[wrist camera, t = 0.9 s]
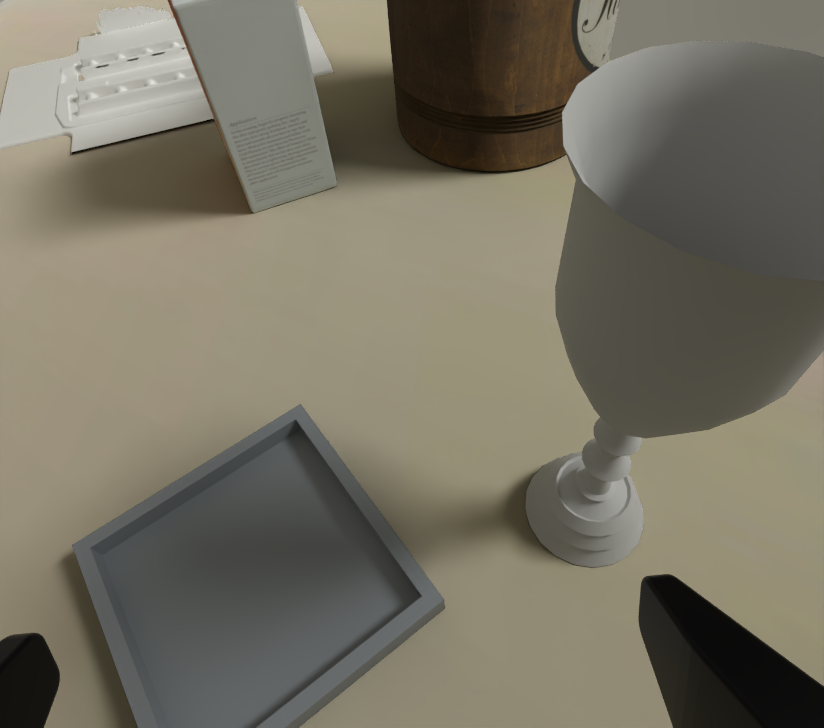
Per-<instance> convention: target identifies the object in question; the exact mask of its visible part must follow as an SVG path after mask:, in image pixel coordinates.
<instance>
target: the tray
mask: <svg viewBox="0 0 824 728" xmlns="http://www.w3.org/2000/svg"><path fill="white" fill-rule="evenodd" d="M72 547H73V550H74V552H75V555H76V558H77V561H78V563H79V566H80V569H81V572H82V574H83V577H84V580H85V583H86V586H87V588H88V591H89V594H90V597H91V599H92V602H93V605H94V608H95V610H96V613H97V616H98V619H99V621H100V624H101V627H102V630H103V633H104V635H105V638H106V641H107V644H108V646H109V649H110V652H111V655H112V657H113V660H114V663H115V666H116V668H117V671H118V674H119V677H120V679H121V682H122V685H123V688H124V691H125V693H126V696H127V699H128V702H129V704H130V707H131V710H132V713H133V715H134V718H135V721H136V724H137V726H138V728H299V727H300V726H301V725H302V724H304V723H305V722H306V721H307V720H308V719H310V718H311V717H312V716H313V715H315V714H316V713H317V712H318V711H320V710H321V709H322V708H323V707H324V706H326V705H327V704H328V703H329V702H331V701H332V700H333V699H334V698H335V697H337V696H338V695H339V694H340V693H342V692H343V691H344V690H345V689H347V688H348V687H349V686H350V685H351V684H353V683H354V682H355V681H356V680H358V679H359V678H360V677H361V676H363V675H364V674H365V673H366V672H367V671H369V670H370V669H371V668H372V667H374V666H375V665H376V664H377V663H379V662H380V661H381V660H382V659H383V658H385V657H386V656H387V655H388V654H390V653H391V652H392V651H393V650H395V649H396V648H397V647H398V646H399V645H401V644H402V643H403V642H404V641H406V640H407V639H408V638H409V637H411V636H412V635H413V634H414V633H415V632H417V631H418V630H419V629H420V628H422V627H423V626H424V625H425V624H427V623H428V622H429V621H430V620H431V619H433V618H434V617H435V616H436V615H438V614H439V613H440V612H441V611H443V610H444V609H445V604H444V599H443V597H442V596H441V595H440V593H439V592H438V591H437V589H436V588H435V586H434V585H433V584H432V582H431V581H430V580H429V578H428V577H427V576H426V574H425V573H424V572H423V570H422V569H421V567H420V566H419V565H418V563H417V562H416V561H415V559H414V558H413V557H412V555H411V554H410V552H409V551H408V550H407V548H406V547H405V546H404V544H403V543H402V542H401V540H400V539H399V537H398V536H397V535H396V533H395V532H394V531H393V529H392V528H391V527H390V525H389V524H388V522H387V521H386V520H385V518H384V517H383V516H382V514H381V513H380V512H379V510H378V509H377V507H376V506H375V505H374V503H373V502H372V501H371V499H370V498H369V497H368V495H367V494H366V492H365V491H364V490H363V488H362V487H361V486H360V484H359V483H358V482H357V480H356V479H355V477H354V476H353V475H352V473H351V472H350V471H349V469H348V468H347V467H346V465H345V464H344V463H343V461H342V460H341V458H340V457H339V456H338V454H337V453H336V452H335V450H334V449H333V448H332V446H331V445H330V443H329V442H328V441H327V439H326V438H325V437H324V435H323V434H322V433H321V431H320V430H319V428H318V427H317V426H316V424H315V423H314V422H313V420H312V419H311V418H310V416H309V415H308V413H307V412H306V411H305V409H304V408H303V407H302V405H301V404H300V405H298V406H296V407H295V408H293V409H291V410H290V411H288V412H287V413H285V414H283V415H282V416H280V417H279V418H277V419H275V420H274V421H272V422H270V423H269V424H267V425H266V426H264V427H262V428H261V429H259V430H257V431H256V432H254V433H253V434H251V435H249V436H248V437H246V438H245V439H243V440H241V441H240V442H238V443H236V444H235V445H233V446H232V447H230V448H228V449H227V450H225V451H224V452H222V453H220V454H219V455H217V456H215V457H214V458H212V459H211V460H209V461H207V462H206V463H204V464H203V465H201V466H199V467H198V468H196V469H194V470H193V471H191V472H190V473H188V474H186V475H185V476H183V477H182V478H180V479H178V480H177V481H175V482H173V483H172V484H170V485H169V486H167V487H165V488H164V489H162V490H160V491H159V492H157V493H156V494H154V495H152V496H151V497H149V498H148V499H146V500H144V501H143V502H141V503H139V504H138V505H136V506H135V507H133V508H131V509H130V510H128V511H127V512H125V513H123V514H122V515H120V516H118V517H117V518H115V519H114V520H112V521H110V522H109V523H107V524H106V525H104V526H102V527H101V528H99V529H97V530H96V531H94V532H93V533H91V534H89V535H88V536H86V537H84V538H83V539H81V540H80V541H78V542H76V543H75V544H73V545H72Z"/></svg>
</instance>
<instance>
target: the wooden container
mask: <svg viewBox="0 0 824 728" xmlns="http://www.w3.org/2000/svg"><path fill="white" fill-rule="evenodd" d="M619 3H620V0H387V7H388V19H389V32H390V43H391V54H392V63H393V73H394V83H395V95H396V106H397V116H398V122H399V126H400V130H401V132H402V134H403V136H404V137H405V139H406V140H407V141H408V142H409V143H410V144H411V145H412V146H413V147H414V148H415V149H417V150H418V151H419V152H421V153H422V154H424V155H425V156H427V157H429V158H431V159H433V160H435V161H438V162H440V163H443V164H446V165H449V166H453V167H457V168H462V169H468V170H476V171H508V170H518V169H524V168H529V167H534V166H537V165H541V164H544V163H547V162H550V161H552V160H554V159H557V158H559V157H561V156H563V155H565V154H566V152H565V149H564V146H563V123H562V112H563V110H564V108H565V106H566V104H567V103H568V101H569V99H570V97H571V95H572V93H573V92H574V90H575V88H576V86H577V84H578V83H580V82H581V81H582V80H584V79H585V78H586V77H588V76H589V75H590V74H592V73H593V72H594V71H596V70H597V69H599V68H600V67H601V66H603V65H604V64H605V63H607V62H608V57H609V52H610V48H611V43H612V39H613V34H614V29H615V24H616V19H617V14H618V8H619Z"/></svg>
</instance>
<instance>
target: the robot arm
mask: <svg viewBox="0 0 824 728" xmlns="http://www.w3.org/2000/svg"><path fill="white" fill-rule="evenodd" d="M639 627H640V631H641V635H642V638H643V641H644V644H645V647H646V650H647V652H648V655H649V658H650V661H651V664H652V667H653V670H654V673H655V676H656V679H657V682H658V684H659V687H660V690H661V693H662V696H663V699H664V702H665V705H666V708H667V711H668V714H669V717H670V719H671V722H672V725H673V728H824V686H823V685H821V684H820V683H818V682H817V681H816V680H814V679H813V678H812V677H810V676H809V675H808V674H806V673H805V672H804V671H802V670H801V669H800V668H798V667H797V666H795V665H794V664H793V663H791V662H790V661H789V660H787V659H786V658H785V657H783V656H782V655H781V654H779V653H778V652H777V651H775V650H774V649H772V648H771V647H770V646H768V645H767V644H766V643H764V642H763V641H762V640H760V639H759V638H758V637H756V636H755V635H754V634H752V633H751V632H750V631H748V630H747V629H745V628H744V627H743V626H741V625H740V624H739V623H737V622H736V621H735V620H733V619H732V618H731V617H729V616H728V615H727V614H725V613H724V612H722V611H721V610H720V609H718V608H717V607H716V606H714V605H713V604H712V603H710V602H709V601H708V600H706V599H705V598H704V597H702V596H701V595H699V594H698V593H697V592H695V591H694V590H693V589H691V588H690V587H689V586H687V585H686V584H685V583H683V582H682V581H681V580H679V579H678V578H676V577H675V576H673V575H670V574H664V575H653V576H646V577H644V578H643V580H642V582H641V591H640V604H639ZM59 681H60V673H59V669H58V666H57V664H56V662H55V660H54V658H53V656H52V654H51V652H50V650H49V647H48V645H47V643H46V641H45V639H44V638H43V636H41V635H40V634H38V633H26V634H16V635H11V636H8V637H6V638H5V639H3V640H2V641H0V728H44V725H45V723H46V720H47V717H48V715H49V712H50V709H51V706H52V704H53V701H54V698H55V695H56V693H57V690H58V686H59Z"/></svg>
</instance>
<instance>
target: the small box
mask: <svg viewBox="0 0 824 728" xmlns="http://www.w3.org/2000/svg"><path fill="white" fill-rule="evenodd" d="M168 2H169V5H170V7H171V10H172V12H173V15H174V18H175V20H176V23H177V25H178V28H179V30H180V33H181V35H182V38H183V40H184V43H185V45H186V48H187V51H188V53H189V56H190V58H191V61H192V63H193V66H194V69H195V71H196V74H197V76H198V79H199V81H200V84H201V87H202V89H203V92H204V94H205V97H206V99H207V102H208V104H209V107H210V110H211V112H212V115H213V117H214V120H215V123H216V125H217V128H218V131H219V133H220V136H221V138H222V141H223V143H224V146H225V148H226V151H227V153H228V155H229V157H230V159H231V162H232V164H233V167H234V169H235V172H236V174H237V177H238V179H239V182H240V184H241V187H242V189H243V192H244V194H245V197H246V199H247V202H248V205H249V207H250V209H251V211H252V212H254V213H256V212H259V211H262V210H265V209H268V208H271V207H274V206H277V205H280V204H283V203H286V202H289V201H293V200H296V199H299V198H302V197H305V196H309V195H311V194H315V193H318V192H321V191H323V190H326V189H330V188H332V187H335V186H336V185H337V180H336V176H335V171H334V167H333V163H332V158H331V154H330V150H329V145H328V141H327V136H326V132H325V127H324V123H323V118H322V113H321V109H320V104H319V99H318V94H317V90H316V86H315V81H314V77H313V72H312V68H311V63H310V59H309V54H308V50H307V45H306V41H305V36H304V32H303V27H302V22H301V18H300V13H299V9H298V4H297V0H168Z"/></svg>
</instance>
